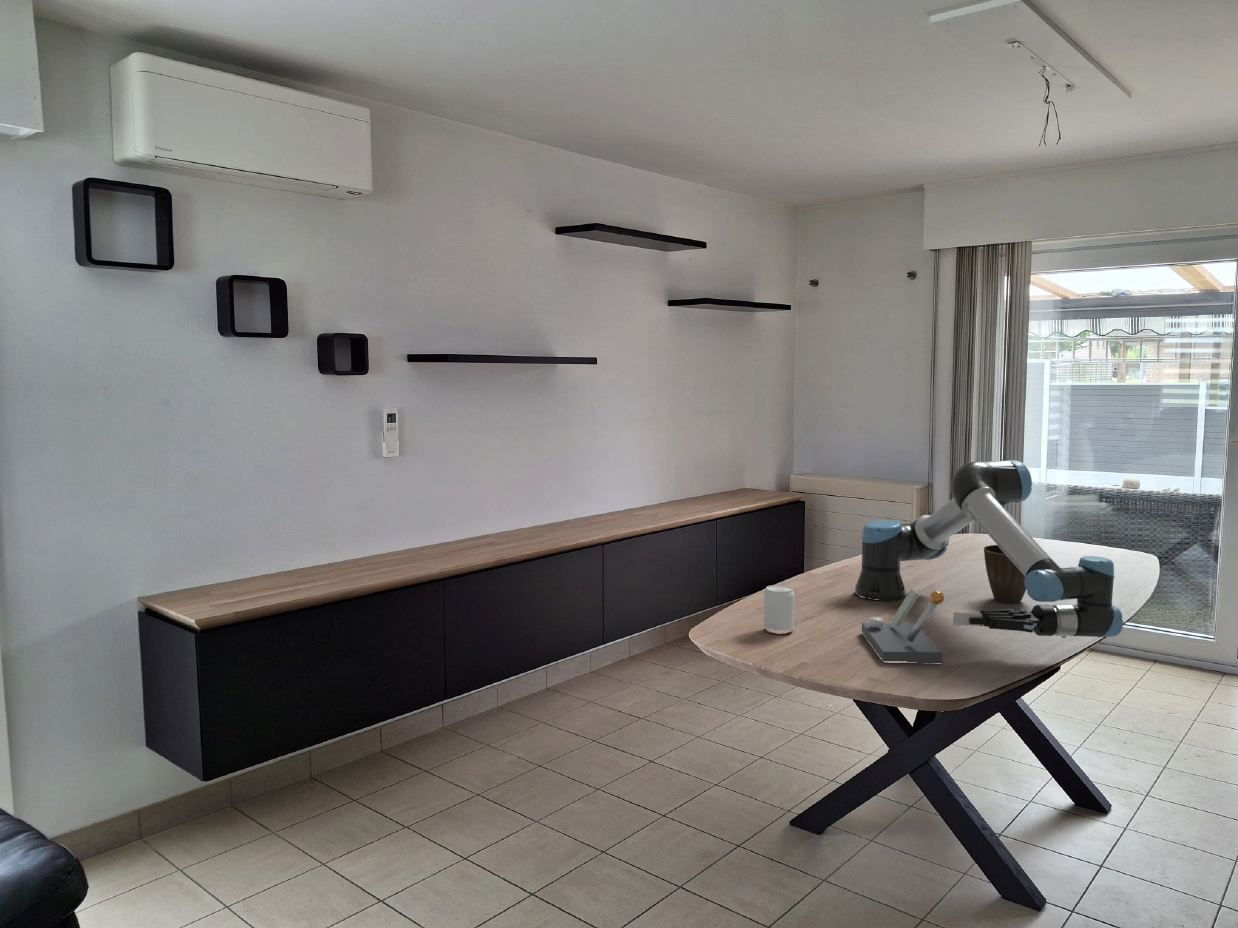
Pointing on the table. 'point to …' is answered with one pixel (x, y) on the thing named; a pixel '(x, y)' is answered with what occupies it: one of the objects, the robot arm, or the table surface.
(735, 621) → the table surface
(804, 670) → the table surface
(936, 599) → the steel toggle lever
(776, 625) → the beverage can
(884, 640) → the switch panel
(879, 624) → the white push button
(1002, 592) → the plant pot
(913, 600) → the sage paddle
